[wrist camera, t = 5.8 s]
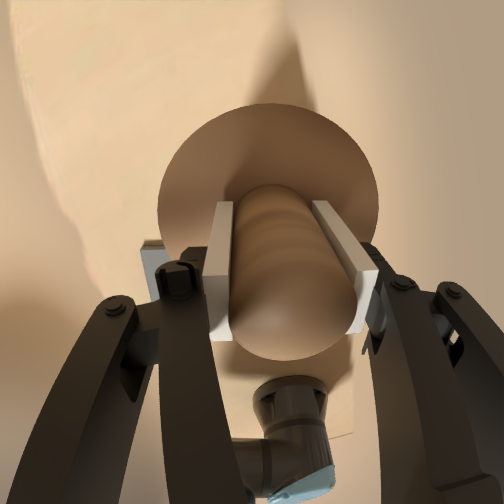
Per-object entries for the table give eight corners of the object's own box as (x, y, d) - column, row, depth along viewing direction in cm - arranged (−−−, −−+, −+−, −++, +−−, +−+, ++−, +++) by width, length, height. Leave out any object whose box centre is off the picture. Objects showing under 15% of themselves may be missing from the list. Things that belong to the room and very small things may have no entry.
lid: (353, 294, 19) (400, 397, 12) (177, 300, 19) (150, 412, 11) (379, 113, 14) (492, 139, 6) (154, 109, 13) (62, 125, 6)
